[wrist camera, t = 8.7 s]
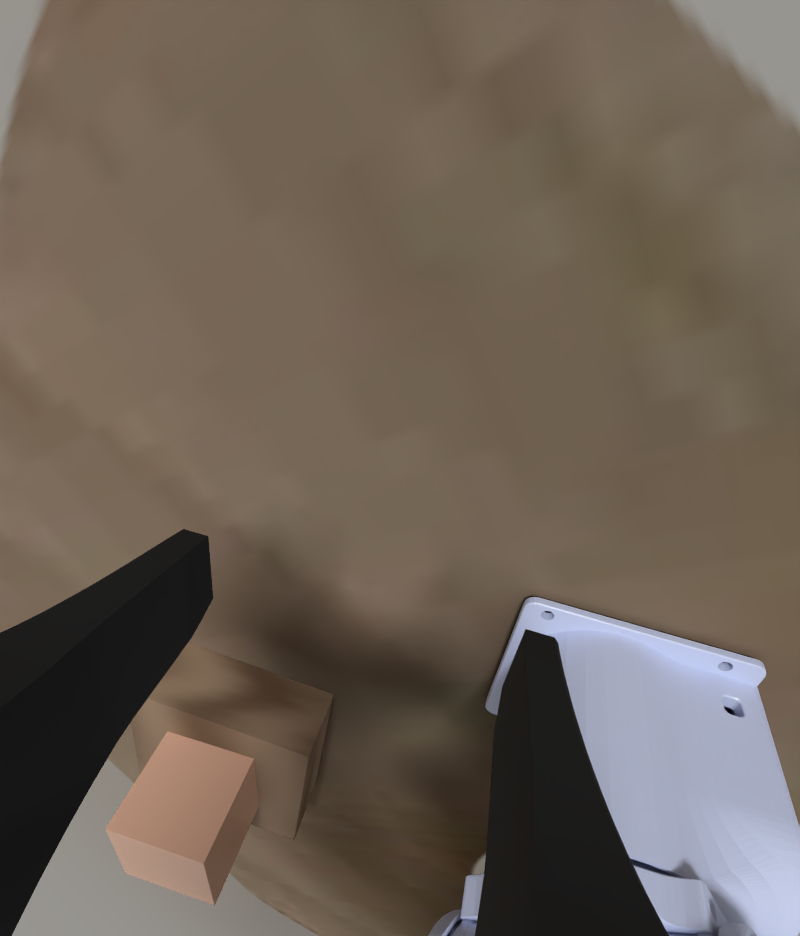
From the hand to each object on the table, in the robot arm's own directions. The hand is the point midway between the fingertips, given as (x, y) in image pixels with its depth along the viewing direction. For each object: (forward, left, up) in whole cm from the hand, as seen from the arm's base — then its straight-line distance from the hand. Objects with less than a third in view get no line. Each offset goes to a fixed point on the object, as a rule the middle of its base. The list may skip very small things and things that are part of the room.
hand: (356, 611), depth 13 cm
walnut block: (+8, +23, -10) cm, 26 cm away
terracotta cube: (+8, +23, -6) cm, 25 cm away
